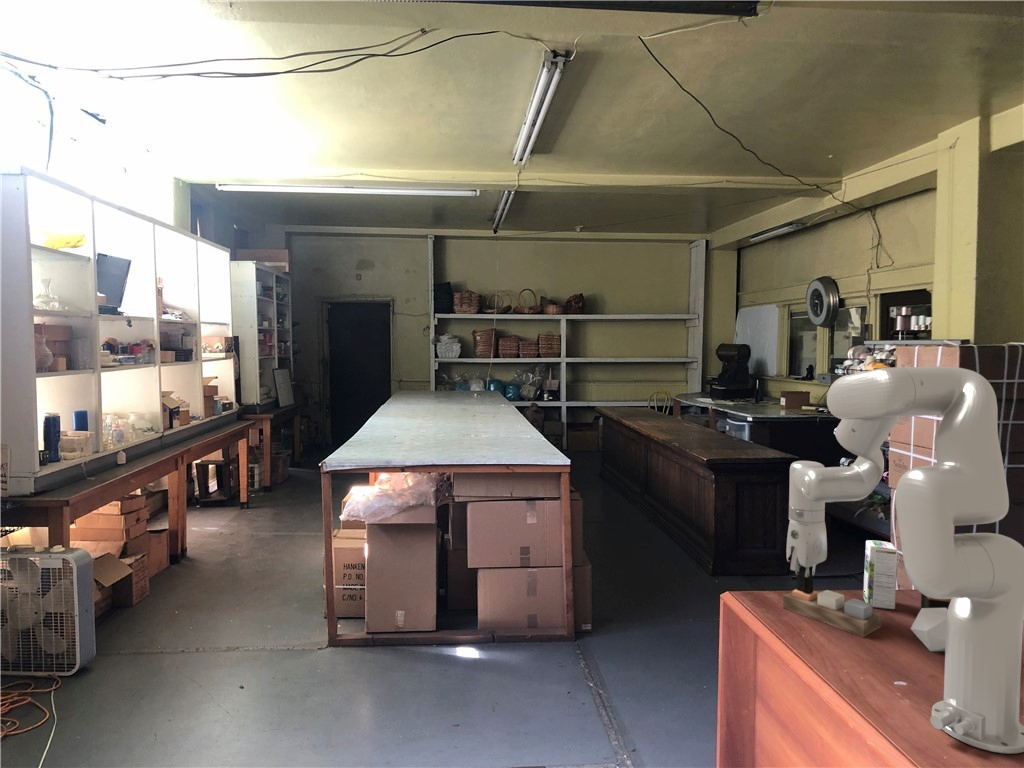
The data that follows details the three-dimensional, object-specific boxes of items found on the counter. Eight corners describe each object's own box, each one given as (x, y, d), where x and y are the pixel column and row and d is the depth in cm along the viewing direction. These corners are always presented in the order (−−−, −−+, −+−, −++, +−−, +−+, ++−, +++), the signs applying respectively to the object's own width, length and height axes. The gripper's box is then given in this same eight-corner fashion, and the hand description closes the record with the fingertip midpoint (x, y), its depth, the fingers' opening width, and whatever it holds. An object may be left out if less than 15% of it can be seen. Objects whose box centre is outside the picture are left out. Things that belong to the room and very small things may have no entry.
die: (965, 666, 118) (981, 620, 120) (923, 641, 119) (939, 597, 121) (937, 660, 125) (952, 618, 128) (897, 637, 127) (913, 595, 129)
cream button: (844, 608, 137) (844, 595, 137) (835, 612, 135) (835, 599, 135) (826, 602, 141) (826, 589, 140) (817, 606, 138) (817, 593, 138)
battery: (927, 624, 134) (929, 580, 134) (920, 612, 140) (921, 569, 140) (951, 627, 132) (952, 582, 132) (942, 615, 139) (944, 572, 138)
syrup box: (862, 597, 149) (864, 539, 148) (890, 600, 147) (891, 541, 146) (867, 606, 143) (869, 546, 143) (896, 610, 141) (898, 549, 141)
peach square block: (817, 604, 142) (818, 592, 142) (808, 609, 140) (808, 596, 140) (801, 599, 146) (801, 586, 145) (792, 603, 143) (792, 590, 143)
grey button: (872, 617, 132) (872, 604, 132) (863, 622, 130) (863, 608, 130) (853, 611, 136) (853, 598, 136) (844, 615, 133) (844, 602, 133)
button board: (881, 627, 133) (881, 613, 133) (863, 637, 128) (863, 623, 128) (801, 599, 148) (802, 587, 147) (783, 608, 143) (783, 595, 143)
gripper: (804, 523, 134) (802, 604, 135) (839, 512, 143) (837, 589, 144) (773, 516, 140) (771, 593, 142) (808, 506, 149) (806, 579, 150)
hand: (804, 591), depth 143 cm, fingers closed
